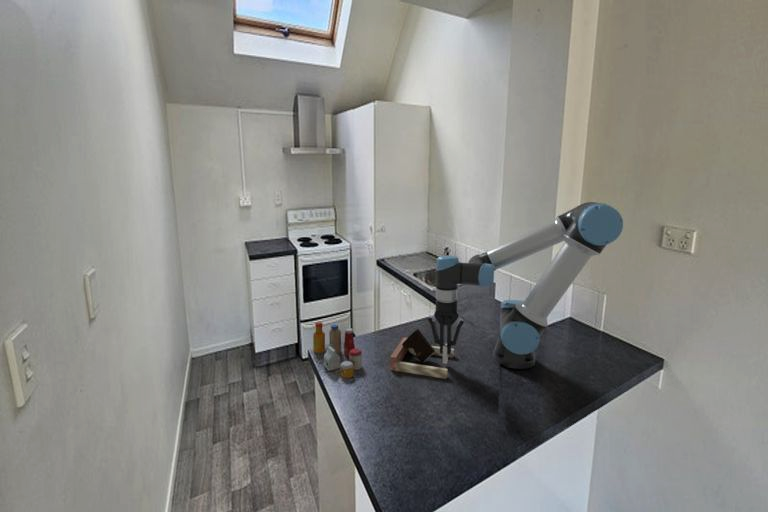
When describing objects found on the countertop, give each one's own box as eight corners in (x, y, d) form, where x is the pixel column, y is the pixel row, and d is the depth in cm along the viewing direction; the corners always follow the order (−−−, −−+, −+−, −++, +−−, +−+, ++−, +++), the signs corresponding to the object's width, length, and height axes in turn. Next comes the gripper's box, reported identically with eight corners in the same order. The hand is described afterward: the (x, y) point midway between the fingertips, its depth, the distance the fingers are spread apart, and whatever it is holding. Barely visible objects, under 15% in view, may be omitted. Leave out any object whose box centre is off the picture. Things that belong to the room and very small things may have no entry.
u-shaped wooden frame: (453, 355, 143) (454, 343, 142) (446, 378, 126) (447, 365, 125) (403, 348, 149) (403, 337, 148) (390, 369, 132) (390, 356, 131)
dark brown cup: (437, 347, 133) (418, 327, 136) (420, 364, 132) (401, 343, 135) (436, 350, 144) (418, 331, 147) (420, 366, 143) (402, 347, 146)
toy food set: (311, 351, 147) (309, 322, 145) (340, 344, 154) (339, 316, 151) (337, 381, 125) (337, 348, 123) (371, 372, 131) (371, 340, 129)
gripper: (466, 298, 132) (464, 359, 137) (430, 295, 136) (429, 355, 140) (464, 304, 125) (462, 369, 129) (426, 301, 129) (425, 364, 133)
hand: (445, 361), depth 135 cm, fingers closed
